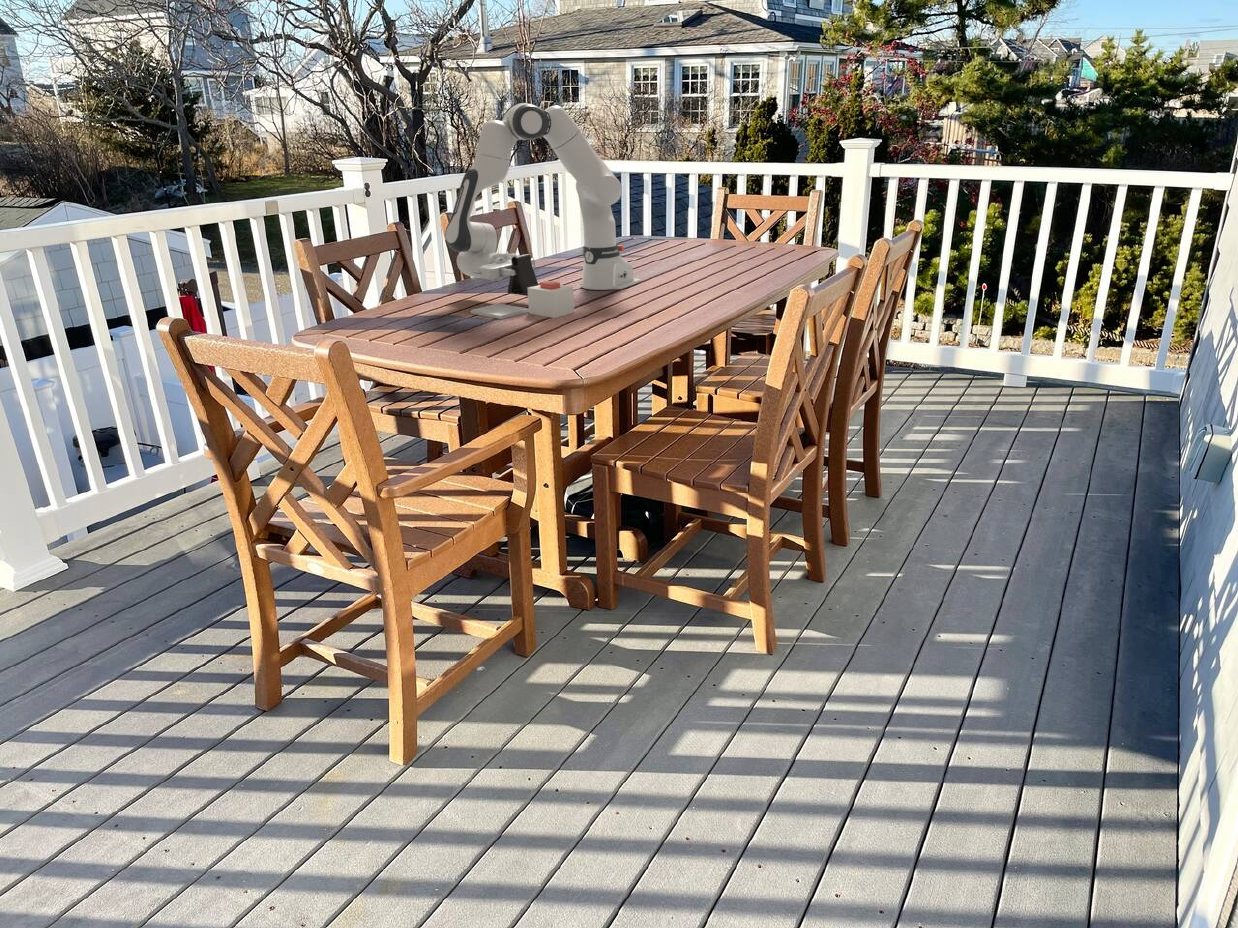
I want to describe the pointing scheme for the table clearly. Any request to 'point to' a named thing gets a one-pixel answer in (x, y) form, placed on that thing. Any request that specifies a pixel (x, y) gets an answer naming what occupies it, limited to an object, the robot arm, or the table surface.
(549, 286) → the button
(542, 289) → the box
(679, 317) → the table surface
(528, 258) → the phone stand
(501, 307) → the grey mat
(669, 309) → the table surface
